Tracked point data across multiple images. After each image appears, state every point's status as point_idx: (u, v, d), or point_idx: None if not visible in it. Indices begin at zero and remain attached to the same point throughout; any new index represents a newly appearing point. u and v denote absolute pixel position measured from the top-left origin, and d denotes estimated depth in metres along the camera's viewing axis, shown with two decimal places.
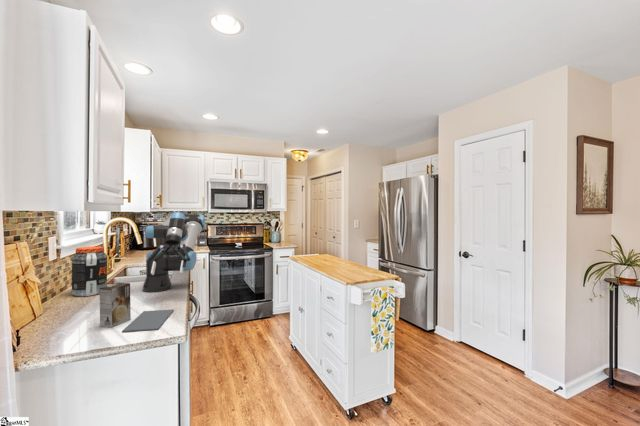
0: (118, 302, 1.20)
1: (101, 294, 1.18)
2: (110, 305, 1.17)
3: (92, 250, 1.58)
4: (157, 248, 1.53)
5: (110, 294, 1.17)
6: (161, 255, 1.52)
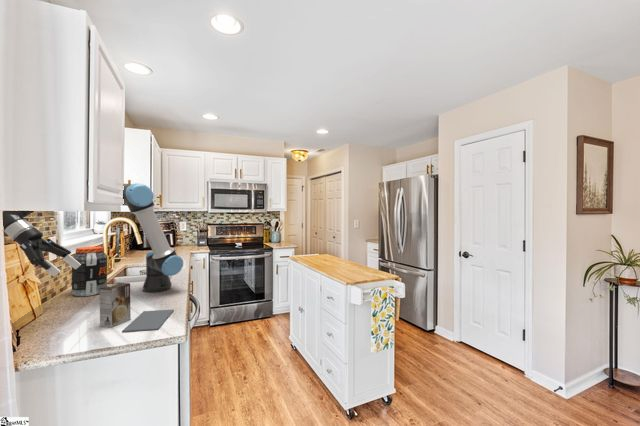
0: (118, 302, 1.20)
1: (101, 294, 1.18)
2: (110, 305, 1.17)
3: (92, 250, 1.58)
4: None
5: (110, 294, 1.17)
6: (54, 251, 1.21)
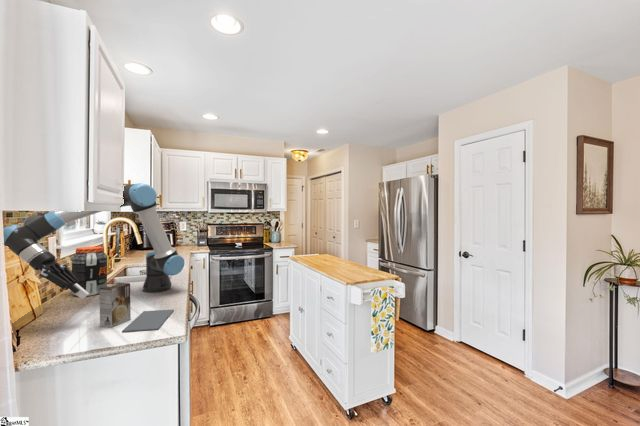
0: (118, 302, 1.20)
1: (101, 294, 1.18)
2: (110, 305, 1.17)
3: (92, 250, 1.58)
4: None
5: (110, 294, 1.17)
6: None
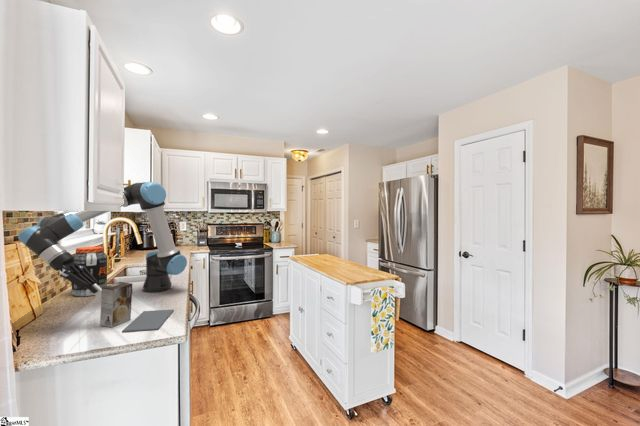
0: (120, 302, 1.20)
1: (103, 293, 1.18)
2: (112, 306, 1.17)
3: (92, 250, 1.58)
4: None
5: (112, 294, 1.17)
6: None
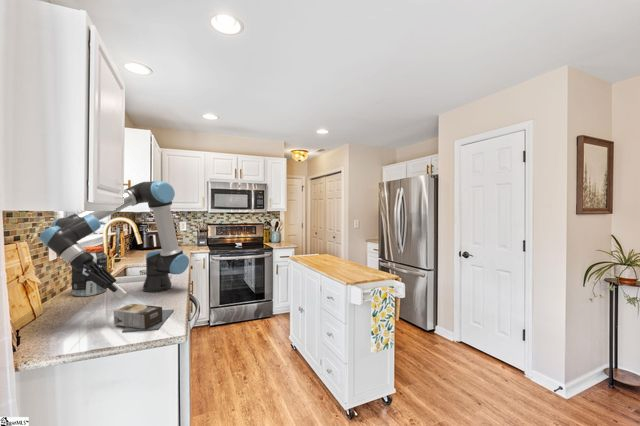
0: None
1: (139, 316, 1.15)
2: (131, 326, 1.16)
3: (92, 250, 1.58)
4: None
5: (140, 327, 1.15)
6: None
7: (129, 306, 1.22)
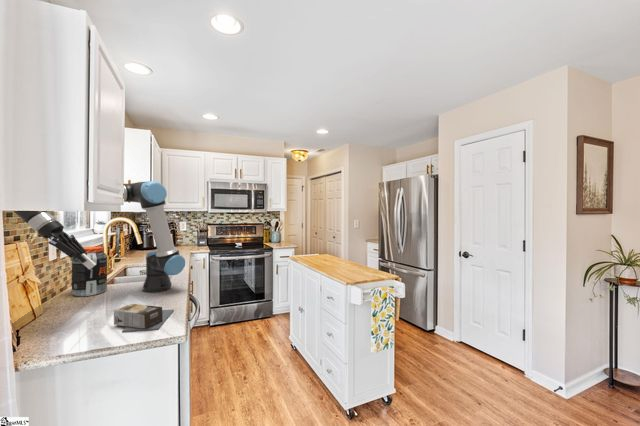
0: None
1: (140, 316, 1.15)
2: (131, 326, 1.16)
3: (92, 250, 1.58)
4: None
5: (140, 327, 1.15)
6: None
7: (129, 306, 1.22)
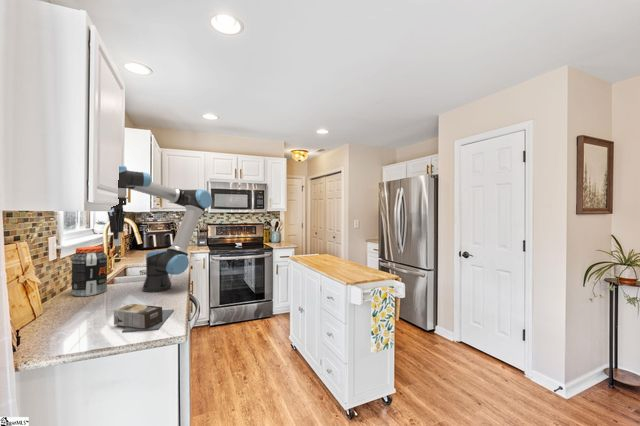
0: None
1: (140, 316, 1.15)
2: (131, 326, 1.16)
3: (92, 250, 1.58)
4: None
5: (140, 327, 1.15)
6: None
7: (129, 306, 1.22)
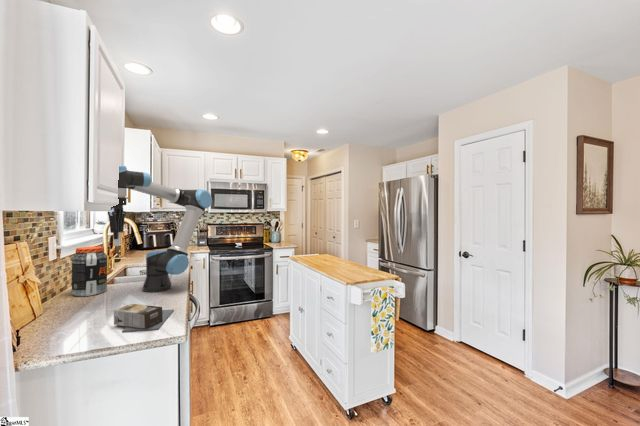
0: None
1: (140, 316, 1.15)
2: (131, 326, 1.16)
3: (92, 250, 1.58)
4: None
5: (140, 327, 1.15)
6: None
7: (129, 306, 1.22)
